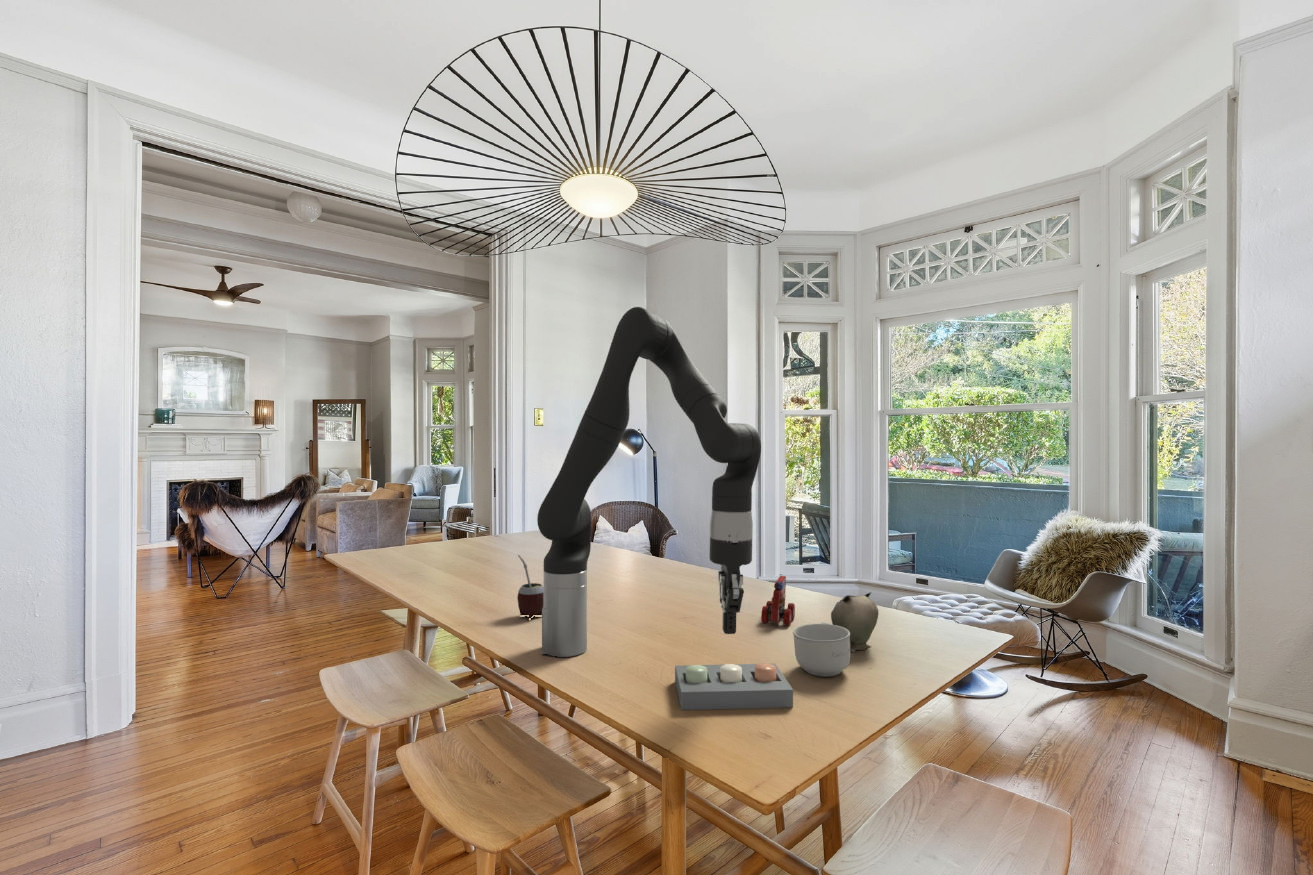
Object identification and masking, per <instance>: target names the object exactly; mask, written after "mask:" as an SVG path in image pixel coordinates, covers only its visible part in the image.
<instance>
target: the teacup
mask: <svg viewBox="0 0 1313 875" xmlns="http://www.w3.org/2000/svg"><path fill="white" fill-rule="evenodd" d="M792 634H793V645H794V654H795V659H796V662H797V664H798V665H799V666H800V668H802V669H803V670H805V672H807V673H808V674H809V675H813V676H816V677H824V678H825V677H834V676H837V675H840V674H841V673H842V671H844V670H846V669H847V667H848V666H849V664H850V660H851V652H850V632H849V630H847V629H846V628H843V627H841V626H837V625H833V624H830V623H829V622H828V621H822V622H821V623H809V624H803V625H799V626H797V627H795V628H793V630H792Z"/></svg>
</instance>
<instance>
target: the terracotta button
mask: <svg viewBox="0 0 1313 875" xmlns="http://www.w3.org/2000/svg"><path fill="white" fill-rule="evenodd" d="M756 664H757V665H755V681H756V682H764V681H776V667H775V666H774V665H772V664H773V663H767V662H765V663H756Z"/></svg>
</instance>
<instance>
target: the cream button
mask: <svg viewBox="0 0 1313 875" xmlns="http://www.w3.org/2000/svg"><path fill="white" fill-rule="evenodd" d="M721 665H722V666H721V668H720V682H742V668H741V667H740V666H738V665H734V664H733V663H725V664H721Z"/></svg>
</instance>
